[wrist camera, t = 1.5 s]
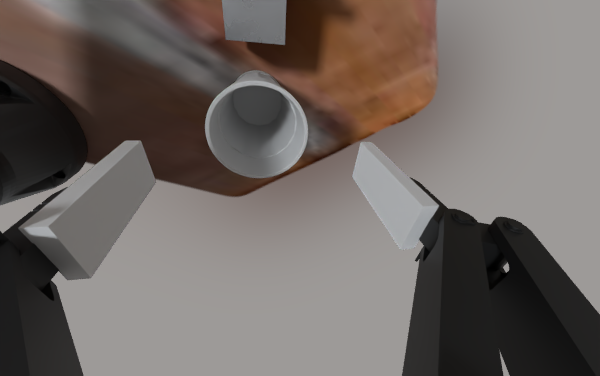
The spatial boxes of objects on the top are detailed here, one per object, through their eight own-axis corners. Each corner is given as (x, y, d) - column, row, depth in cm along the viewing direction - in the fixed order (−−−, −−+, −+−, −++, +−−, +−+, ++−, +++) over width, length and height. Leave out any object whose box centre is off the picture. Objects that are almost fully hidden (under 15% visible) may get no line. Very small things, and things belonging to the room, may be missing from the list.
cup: (296, 119, 29) (317, 163, 19) (240, 137, 29) (233, 189, 19) (278, 52, 24) (293, 65, 15) (211, 74, 24) (182, 100, 15)
